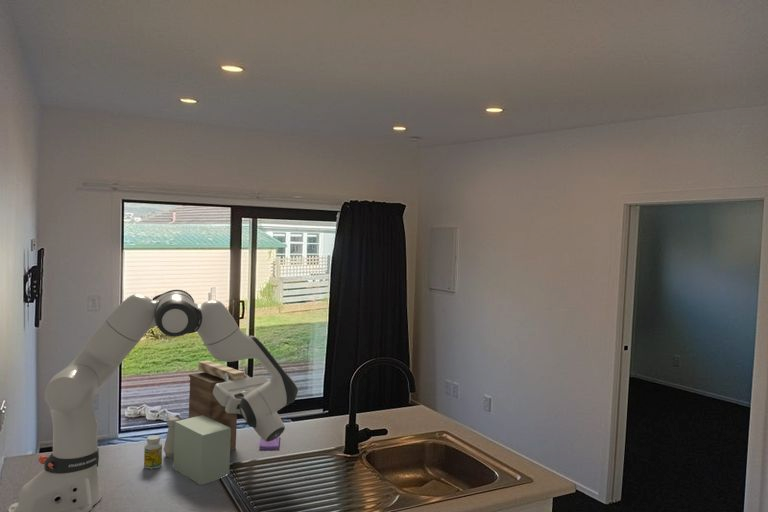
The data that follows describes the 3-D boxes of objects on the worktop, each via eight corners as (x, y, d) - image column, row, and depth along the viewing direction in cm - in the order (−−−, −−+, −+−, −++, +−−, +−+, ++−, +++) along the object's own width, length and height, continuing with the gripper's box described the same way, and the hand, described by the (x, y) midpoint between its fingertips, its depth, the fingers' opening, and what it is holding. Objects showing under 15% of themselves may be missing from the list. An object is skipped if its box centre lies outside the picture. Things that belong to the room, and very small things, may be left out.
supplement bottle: (164, 463, 185) (165, 435, 185) (156, 470, 180) (157, 440, 180) (149, 462, 186) (150, 433, 185) (140, 468, 180) (141, 439, 180)
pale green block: (200, 485, 171) (202, 435, 170) (173, 468, 182) (174, 421, 181) (229, 475, 178) (230, 428, 178) (200, 460, 189) (202, 415, 189)
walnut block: (208, 457, 192) (211, 382, 192) (186, 445, 202) (189, 374, 201) (236, 448, 201) (239, 377, 200) (214, 437, 211) (217, 369, 210)
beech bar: (243, 380, 192) (244, 372, 192) (234, 382, 189) (234, 373, 189) (208, 368, 207) (208, 360, 207) (198, 369, 204) (198, 361, 204)
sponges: (259, 451, 201) (259, 446, 201) (261, 438, 213) (261, 433, 213) (278, 450, 202) (278, 445, 202) (279, 438, 214) (279, 433, 214)
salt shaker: (184, 453, 195) (185, 416, 194) (176, 459, 189) (178, 421, 189) (168, 451, 195) (169, 415, 195) (160, 457, 190) (161, 420, 189)
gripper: (279, 388, 192) (259, 362, 200) (228, 399, 177) (209, 370, 185) (273, 402, 194) (253, 376, 202) (222, 414, 179) (203, 385, 187)
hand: (232, 373), depth 193 cm, fingers closed on beech bar, 4 cm apart
